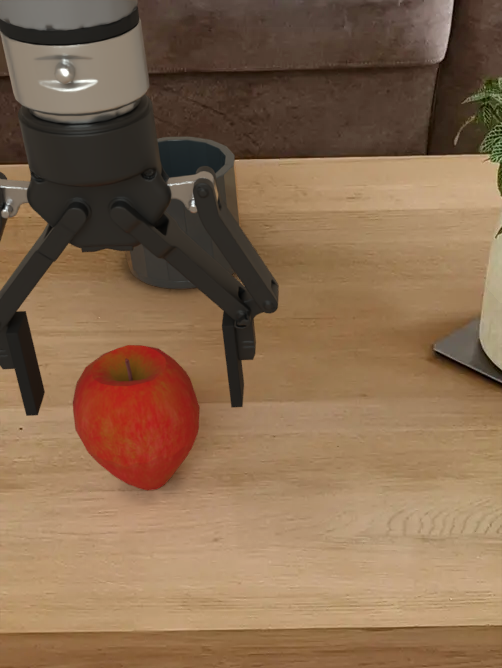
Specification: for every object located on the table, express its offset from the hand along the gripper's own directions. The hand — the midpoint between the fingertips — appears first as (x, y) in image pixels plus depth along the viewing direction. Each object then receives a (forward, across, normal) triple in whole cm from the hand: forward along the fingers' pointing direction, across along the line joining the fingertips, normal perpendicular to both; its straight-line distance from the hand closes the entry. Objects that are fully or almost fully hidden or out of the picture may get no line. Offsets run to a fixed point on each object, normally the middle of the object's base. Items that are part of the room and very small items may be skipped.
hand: (137, 400), depth 80 cm
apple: (+8, 0, 0) cm, 8 cm away
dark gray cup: (+7, 0, +32) cm, 33 cm away
